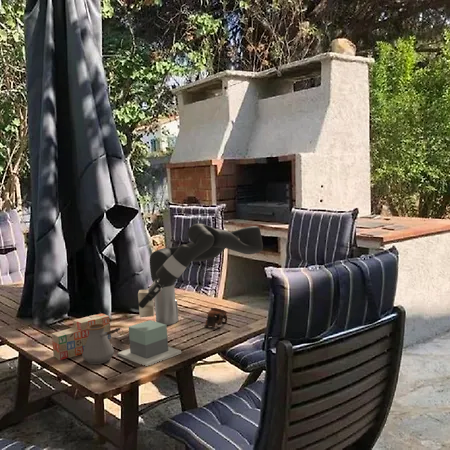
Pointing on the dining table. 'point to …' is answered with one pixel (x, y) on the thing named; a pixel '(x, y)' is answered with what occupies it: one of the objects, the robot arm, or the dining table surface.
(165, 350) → the tower base
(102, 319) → the stack of blocks
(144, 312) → the cream brick
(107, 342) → the coffee pot
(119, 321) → the dining table surface
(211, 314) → the brown toy animal
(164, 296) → the robot arm
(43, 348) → the dining table surface
